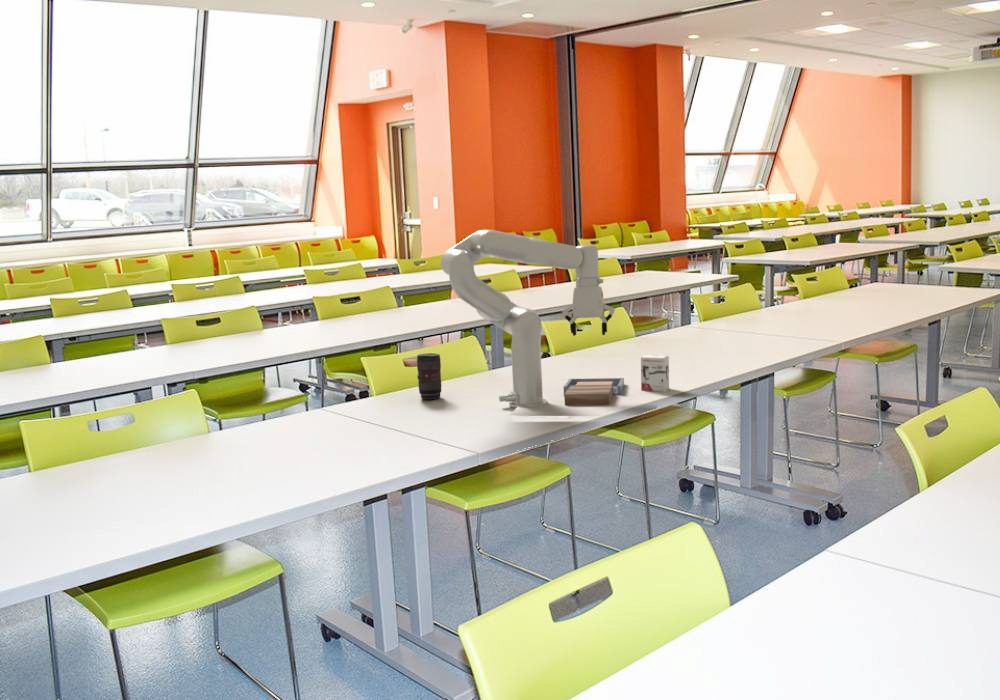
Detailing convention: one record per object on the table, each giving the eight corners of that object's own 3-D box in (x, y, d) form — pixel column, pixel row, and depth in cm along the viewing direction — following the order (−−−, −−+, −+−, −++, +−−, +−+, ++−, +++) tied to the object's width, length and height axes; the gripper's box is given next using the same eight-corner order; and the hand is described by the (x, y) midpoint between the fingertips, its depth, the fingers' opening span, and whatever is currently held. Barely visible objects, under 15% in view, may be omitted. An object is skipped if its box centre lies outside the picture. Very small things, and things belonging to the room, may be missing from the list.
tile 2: (612, 381, 305) (613, 388, 305) (577, 381, 308) (578, 389, 308) (611, 383, 301) (612, 390, 302) (576, 383, 304) (576, 391, 304)
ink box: (640, 391, 302) (639, 356, 300) (645, 388, 306) (644, 354, 304) (665, 392, 297) (664, 357, 296) (669, 389, 302) (669, 355, 300)
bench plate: (609, 404, 282) (608, 393, 281) (564, 405, 285) (564, 394, 284) (613, 395, 297) (612, 384, 297) (571, 395, 300) (570, 385, 300)
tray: (620, 394, 297) (620, 386, 296) (563, 395, 301) (563, 386, 300) (624, 386, 312) (623, 377, 312) (569, 387, 316) (569, 378, 316)
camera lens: (439, 399, 305) (436, 355, 303) (416, 399, 307) (413, 356, 305) (445, 395, 313) (442, 352, 311) (423, 395, 314) (420, 353, 312)
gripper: (614, 281, 295) (616, 333, 297) (562, 283, 299) (564, 334, 301) (612, 282, 288) (614, 335, 290) (559, 284, 292) (561, 336, 294)
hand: (589, 334), depth 296 cm, fingers open, 9 cm apart
